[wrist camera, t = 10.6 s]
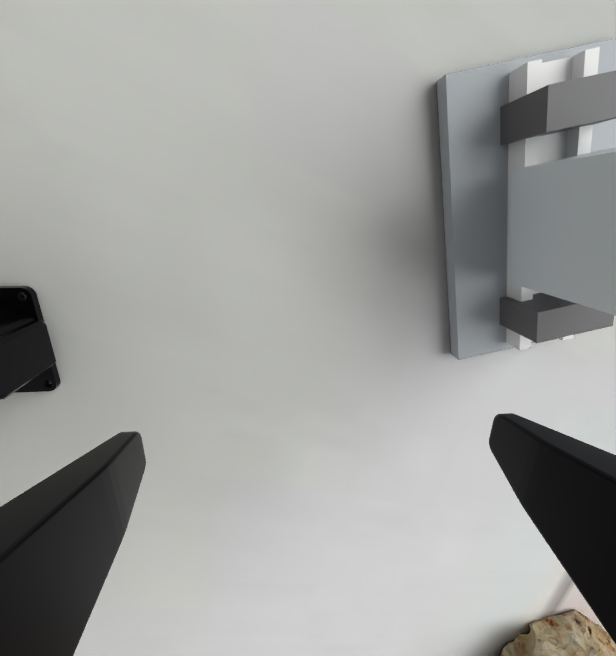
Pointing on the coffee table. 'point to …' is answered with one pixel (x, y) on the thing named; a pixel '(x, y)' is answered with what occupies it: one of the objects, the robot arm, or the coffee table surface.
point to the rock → (562, 638)
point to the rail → (495, 185)
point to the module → (566, 229)
